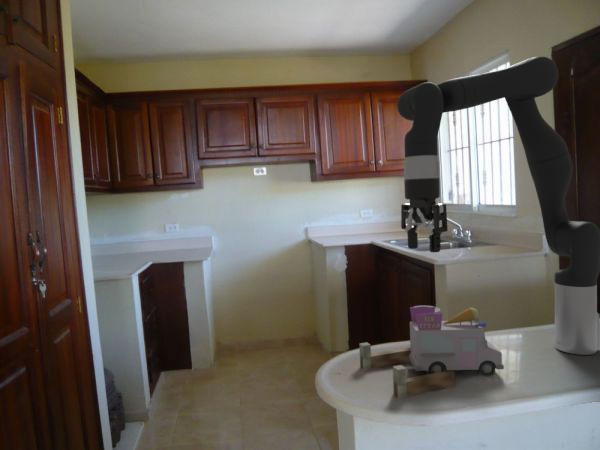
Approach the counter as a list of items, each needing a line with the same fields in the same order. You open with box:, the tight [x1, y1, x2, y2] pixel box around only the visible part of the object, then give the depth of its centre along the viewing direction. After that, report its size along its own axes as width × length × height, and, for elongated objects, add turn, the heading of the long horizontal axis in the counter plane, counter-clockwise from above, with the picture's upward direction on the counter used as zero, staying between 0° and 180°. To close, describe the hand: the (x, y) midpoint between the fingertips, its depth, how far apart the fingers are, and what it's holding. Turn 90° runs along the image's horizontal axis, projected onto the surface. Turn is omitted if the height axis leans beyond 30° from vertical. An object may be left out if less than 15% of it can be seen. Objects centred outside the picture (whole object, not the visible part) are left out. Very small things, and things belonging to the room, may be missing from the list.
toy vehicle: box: [409, 305, 505, 377], centre depth 102 cm, size 9×20×15 cm, turn 87°
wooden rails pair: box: [359, 341, 456, 399], centre depth 101 cm, size 14×18×6 cm
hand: (423, 250), depth 98 cm, fingers open, 8 cm apart
